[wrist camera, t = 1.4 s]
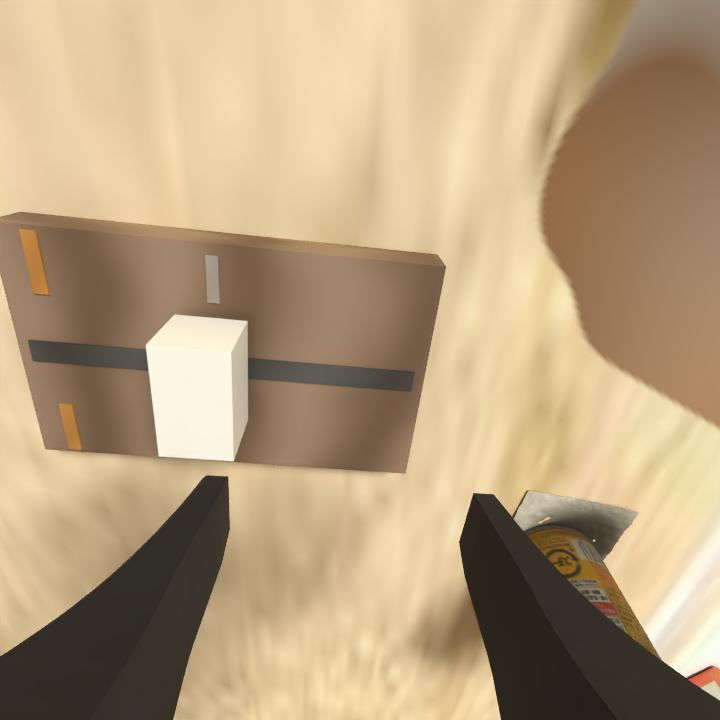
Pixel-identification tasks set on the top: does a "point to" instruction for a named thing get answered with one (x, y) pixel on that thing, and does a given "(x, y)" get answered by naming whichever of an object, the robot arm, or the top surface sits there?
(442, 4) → the top surface
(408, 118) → the top surface
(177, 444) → the fader tab
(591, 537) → the condiment
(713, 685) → the cracker box
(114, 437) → the fader board
